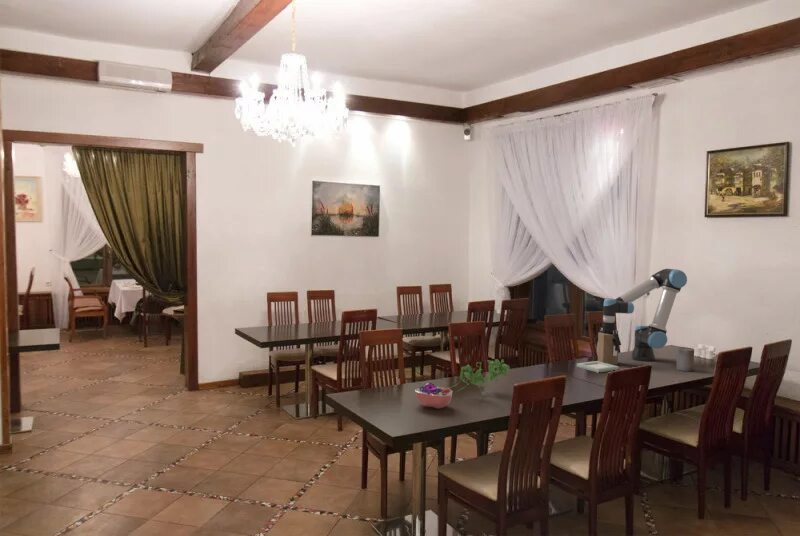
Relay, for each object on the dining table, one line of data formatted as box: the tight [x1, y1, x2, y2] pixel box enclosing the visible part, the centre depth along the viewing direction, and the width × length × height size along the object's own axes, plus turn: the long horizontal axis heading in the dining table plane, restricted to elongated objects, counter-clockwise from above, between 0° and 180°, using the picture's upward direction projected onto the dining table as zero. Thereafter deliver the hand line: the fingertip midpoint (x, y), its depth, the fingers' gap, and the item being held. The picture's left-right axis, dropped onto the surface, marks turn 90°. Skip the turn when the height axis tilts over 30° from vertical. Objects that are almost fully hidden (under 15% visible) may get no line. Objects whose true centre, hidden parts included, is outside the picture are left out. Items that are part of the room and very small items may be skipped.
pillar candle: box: [676, 346, 695, 372], centre depth 371 cm, size 10×10×15 cm
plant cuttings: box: [447, 359, 511, 397], centre depth 308 cm, size 35×17×22 cm
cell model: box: [414, 382, 454, 410], centre depth 283 cm, size 17×20×11 cm
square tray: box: [576, 360, 620, 374], centre depth 373 cm, size 18×18×2 cm
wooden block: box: [597, 332, 620, 366], centre depth 388 cm, size 10×10×20 cm
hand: (606, 353), depth 388 cm, fingers open, 13 cm apart
